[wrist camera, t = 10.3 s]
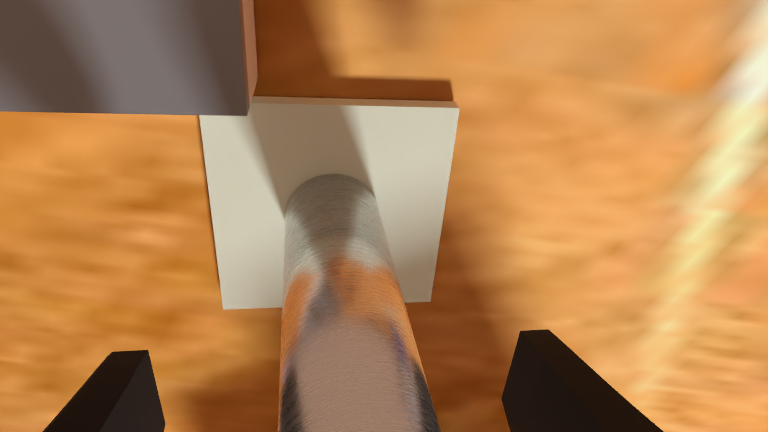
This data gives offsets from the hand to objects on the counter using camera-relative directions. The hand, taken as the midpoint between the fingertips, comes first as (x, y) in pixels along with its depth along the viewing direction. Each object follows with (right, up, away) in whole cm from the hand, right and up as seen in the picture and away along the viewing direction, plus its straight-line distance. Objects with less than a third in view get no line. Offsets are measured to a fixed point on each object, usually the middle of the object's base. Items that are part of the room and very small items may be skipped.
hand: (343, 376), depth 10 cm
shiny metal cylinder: (-1, +3, +5) cm, 6 cm away
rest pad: (-1, +3, +6) cm, 7 cm away
